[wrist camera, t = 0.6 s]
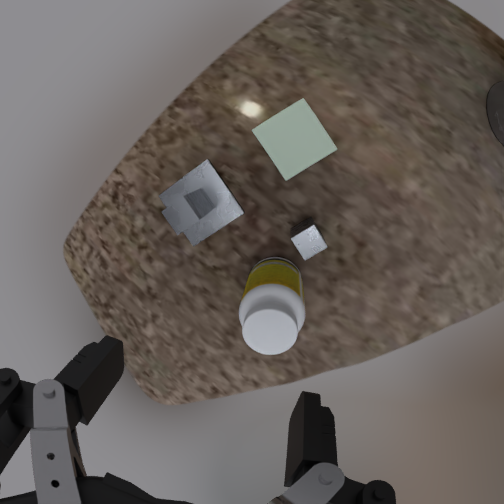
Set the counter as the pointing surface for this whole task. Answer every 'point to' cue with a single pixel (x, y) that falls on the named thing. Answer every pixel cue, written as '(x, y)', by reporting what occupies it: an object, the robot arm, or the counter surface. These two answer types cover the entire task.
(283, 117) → the pale green block
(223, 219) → the post on square base
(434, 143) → the counter surface
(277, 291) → the pill bottle
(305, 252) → the short post
